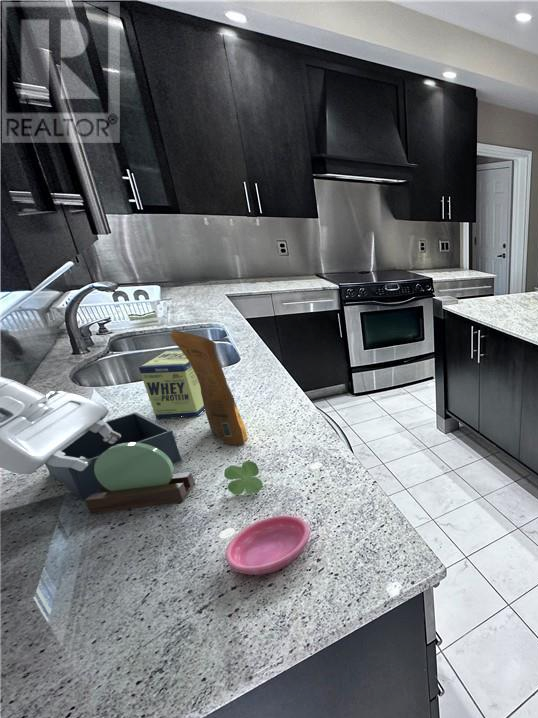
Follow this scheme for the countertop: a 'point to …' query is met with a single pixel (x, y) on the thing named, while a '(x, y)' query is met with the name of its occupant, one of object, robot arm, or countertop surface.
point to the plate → (133, 467)
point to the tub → (93, 446)
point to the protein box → (172, 385)
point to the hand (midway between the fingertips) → (103, 452)
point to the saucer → (267, 545)
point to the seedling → (243, 478)
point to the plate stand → (141, 495)
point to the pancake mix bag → (213, 387)
